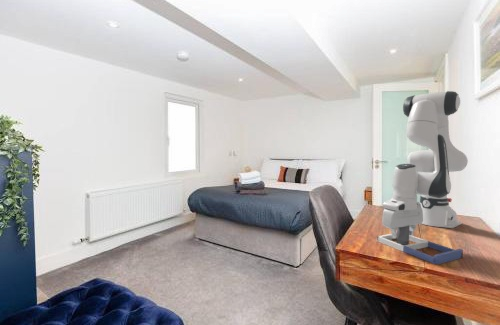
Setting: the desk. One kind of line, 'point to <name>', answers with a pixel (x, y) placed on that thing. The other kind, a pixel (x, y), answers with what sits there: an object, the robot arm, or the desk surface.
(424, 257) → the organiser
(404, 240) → the smooth grey pebble
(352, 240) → the desk surface
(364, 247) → the desk surface
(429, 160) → the robot arm
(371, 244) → the desk surface
